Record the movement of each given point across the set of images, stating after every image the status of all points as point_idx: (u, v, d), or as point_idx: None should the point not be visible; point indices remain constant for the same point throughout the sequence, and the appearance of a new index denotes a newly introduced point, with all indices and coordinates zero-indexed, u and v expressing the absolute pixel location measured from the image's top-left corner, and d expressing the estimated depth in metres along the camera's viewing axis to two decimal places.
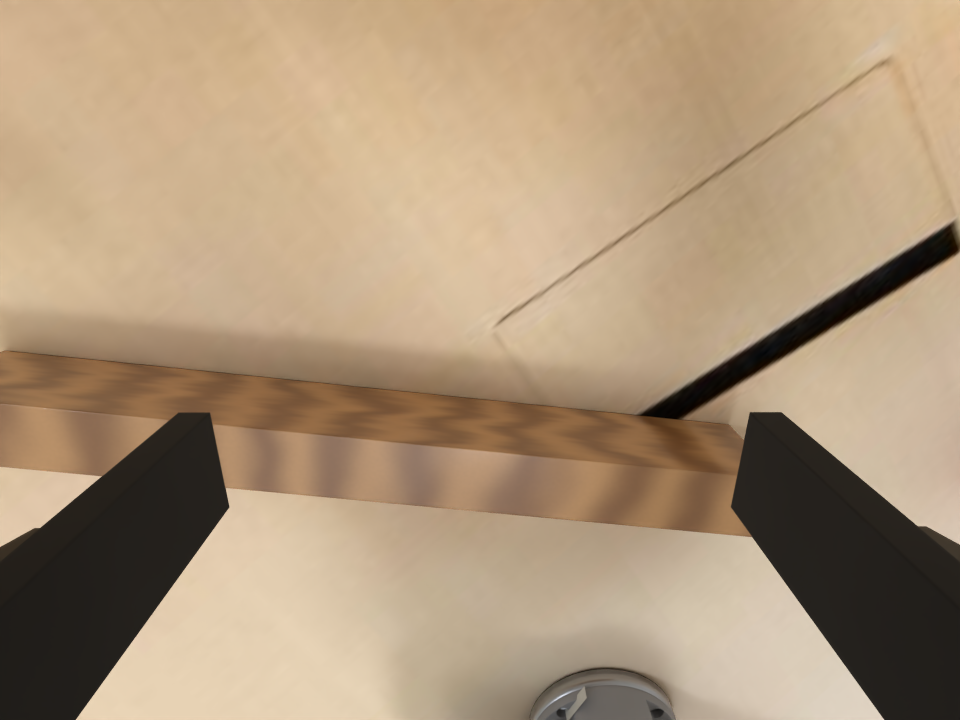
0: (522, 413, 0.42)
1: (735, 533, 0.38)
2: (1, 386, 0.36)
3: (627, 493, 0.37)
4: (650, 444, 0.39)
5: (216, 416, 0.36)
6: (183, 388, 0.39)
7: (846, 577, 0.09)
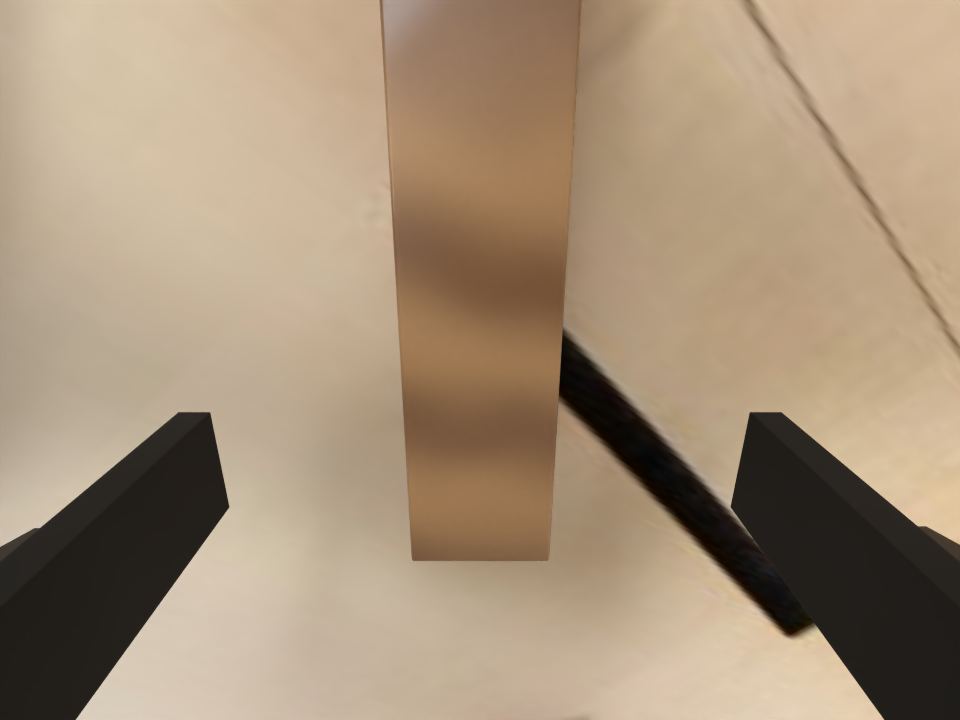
0: None
1: (414, 518, 0.18)
2: None
3: (487, 279, 0.15)
4: None
5: None
6: None
7: (847, 578, 0.09)
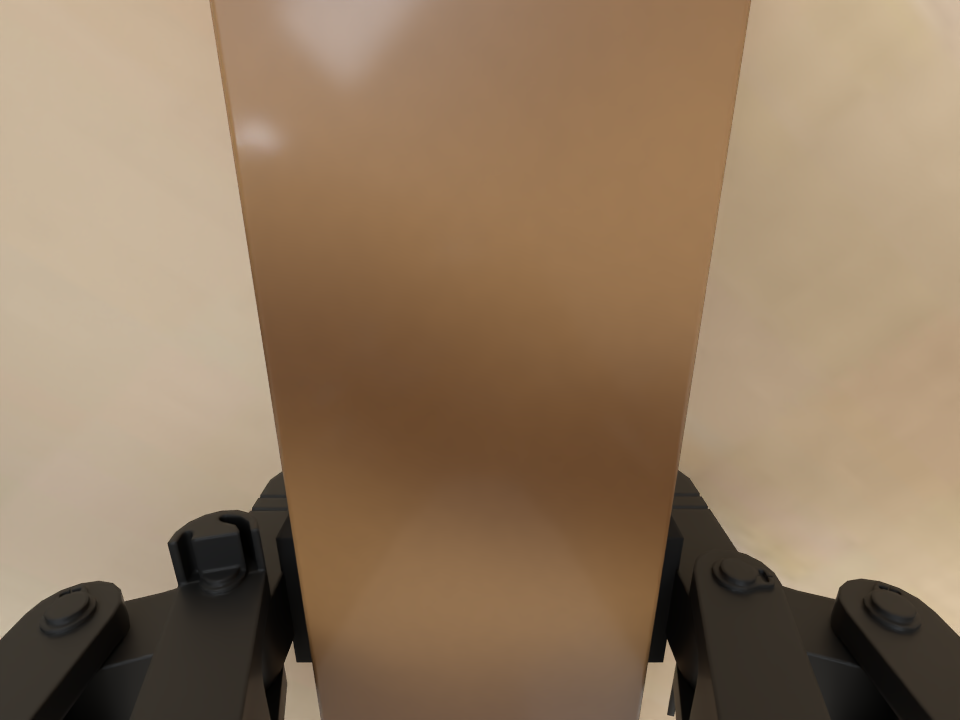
0: None
1: None
2: None
3: (496, 446, 0.06)
4: None
5: None
6: None
7: None
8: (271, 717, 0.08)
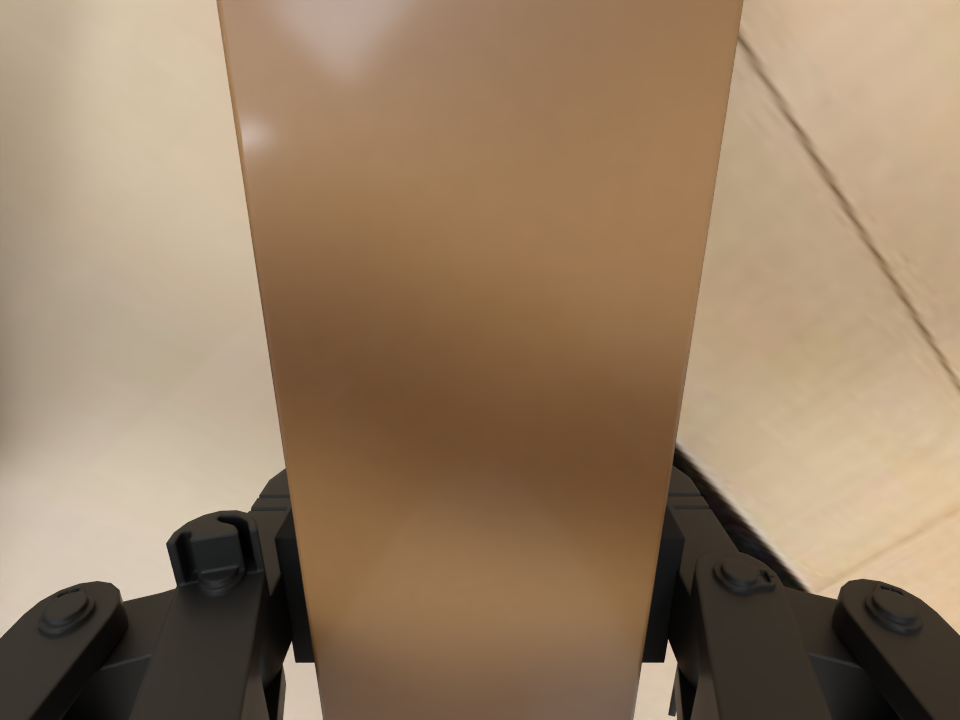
0: None
1: None
2: None
3: (494, 440, 0.07)
4: None
5: None
6: None
7: None
8: (270, 717, 0.08)
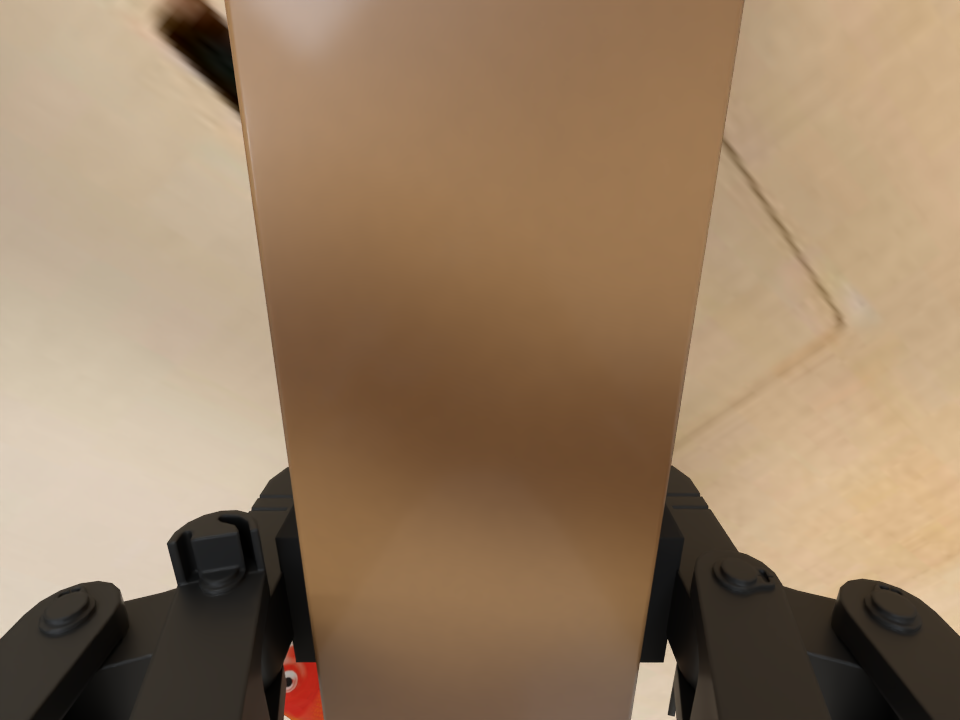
0: None
1: None
2: None
3: (495, 436, 0.07)
4: None
5: None
6: None
7: None
8: (271, 717, 0.08)
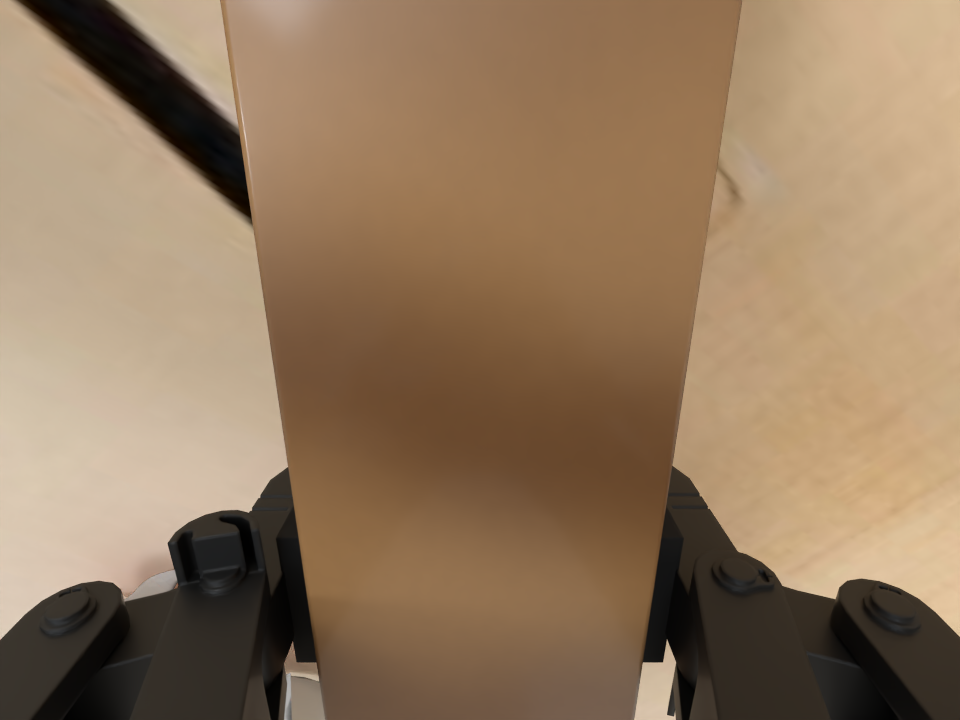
0: None
1: None
2: None
3: (495, 437, 0.07)
4: None
5: None
6: None
7: None
8: (271, 717, 0.08)
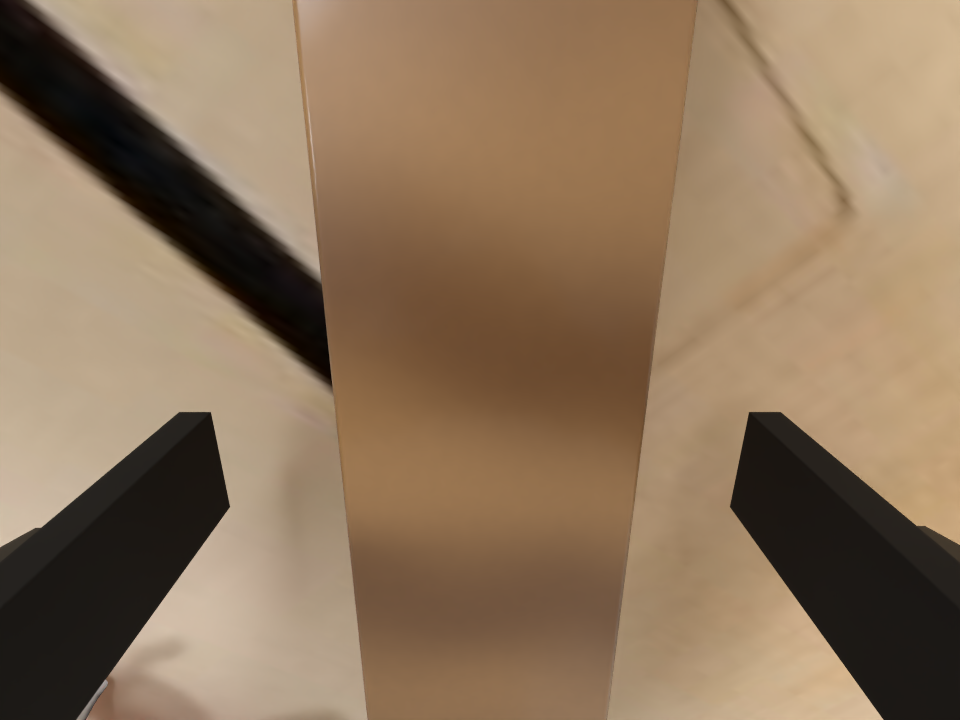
0: None
1: None
2: None
3: (504, 346, 0.08)
4: None
5: None
6: None
7: (845, 577, 0.09)
8: None
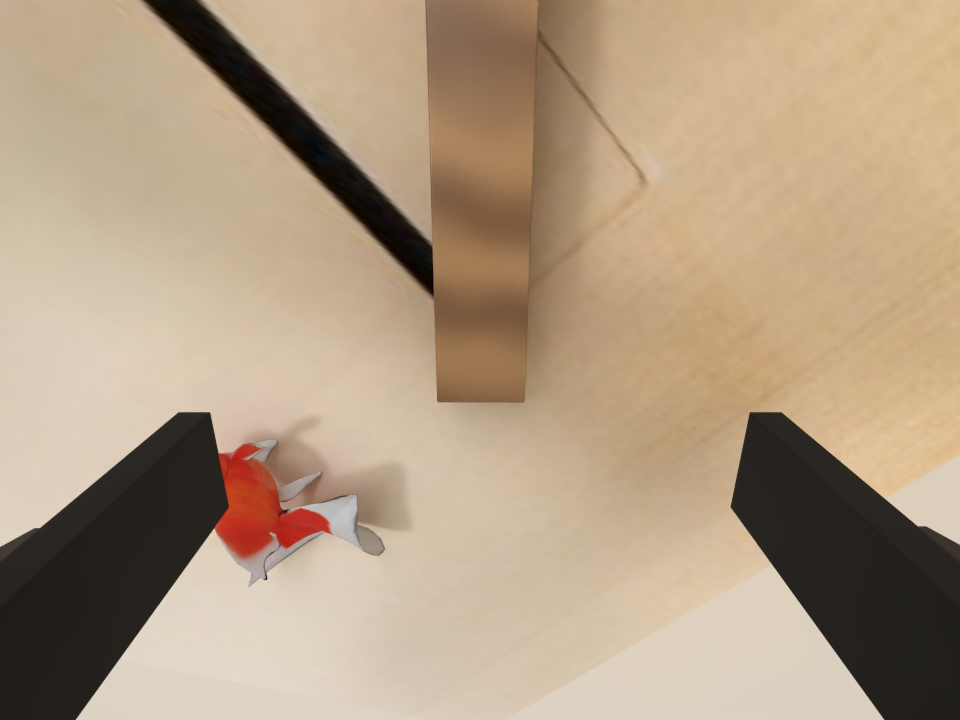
0: None
1: (439, 372, 0.29)
2: None
3: (485, 215, 0.26)
4: None
5: None
6: None
7: (846, 577, 0.09)
8: None
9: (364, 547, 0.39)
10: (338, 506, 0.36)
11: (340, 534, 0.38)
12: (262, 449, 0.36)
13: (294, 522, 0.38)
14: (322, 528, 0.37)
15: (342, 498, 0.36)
